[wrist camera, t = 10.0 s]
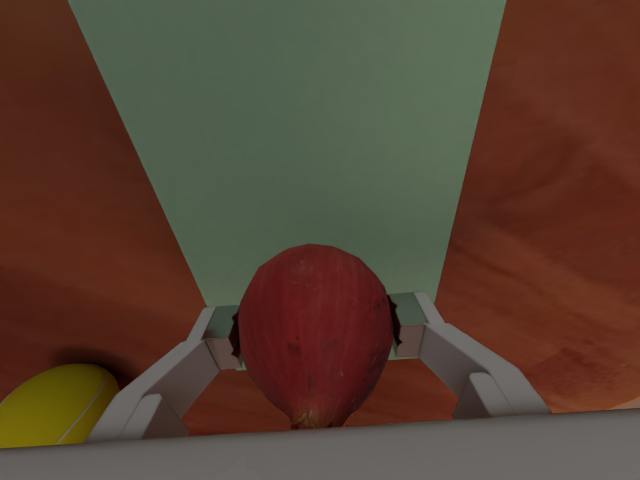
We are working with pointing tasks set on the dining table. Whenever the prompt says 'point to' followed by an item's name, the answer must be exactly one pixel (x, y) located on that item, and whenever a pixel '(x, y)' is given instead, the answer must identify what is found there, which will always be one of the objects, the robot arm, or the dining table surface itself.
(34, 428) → the tennis ball
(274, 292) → the onion
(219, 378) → the dining table surface
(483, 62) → the cutting board
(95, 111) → the dining table surface
